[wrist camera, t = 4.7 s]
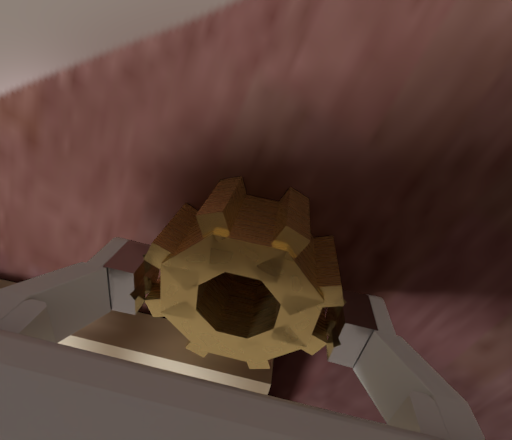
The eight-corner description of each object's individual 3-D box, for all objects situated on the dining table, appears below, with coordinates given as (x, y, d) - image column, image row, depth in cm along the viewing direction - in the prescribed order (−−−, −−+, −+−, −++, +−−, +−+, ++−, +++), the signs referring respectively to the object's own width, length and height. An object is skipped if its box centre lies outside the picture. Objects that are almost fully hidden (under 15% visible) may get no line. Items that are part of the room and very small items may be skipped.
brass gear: (354, 200, 10) (373, 248, 7) (308, 324, 13) (309, 388, 11) (179, 162, 10) (138, 196, 8) (174, 292, 13) (142, 348, 11)
